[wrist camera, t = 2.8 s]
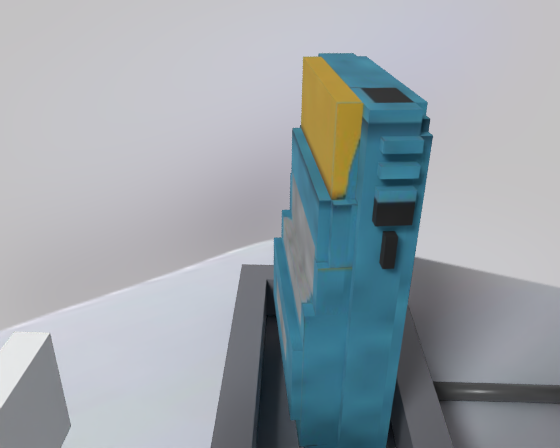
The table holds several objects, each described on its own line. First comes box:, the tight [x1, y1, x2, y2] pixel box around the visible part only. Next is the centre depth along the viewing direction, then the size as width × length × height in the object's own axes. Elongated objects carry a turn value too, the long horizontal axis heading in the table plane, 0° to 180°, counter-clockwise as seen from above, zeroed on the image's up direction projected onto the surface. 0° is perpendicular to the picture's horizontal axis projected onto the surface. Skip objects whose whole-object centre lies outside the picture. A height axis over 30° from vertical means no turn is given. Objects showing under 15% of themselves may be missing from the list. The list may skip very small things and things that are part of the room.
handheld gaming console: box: [274, 53, 433, 448], centre depth 22 cm, size 10×4×15 cm, turn 5°
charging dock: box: [211, 264, 560, 448], centre depth 24 cm, size 18×15×2 cm
